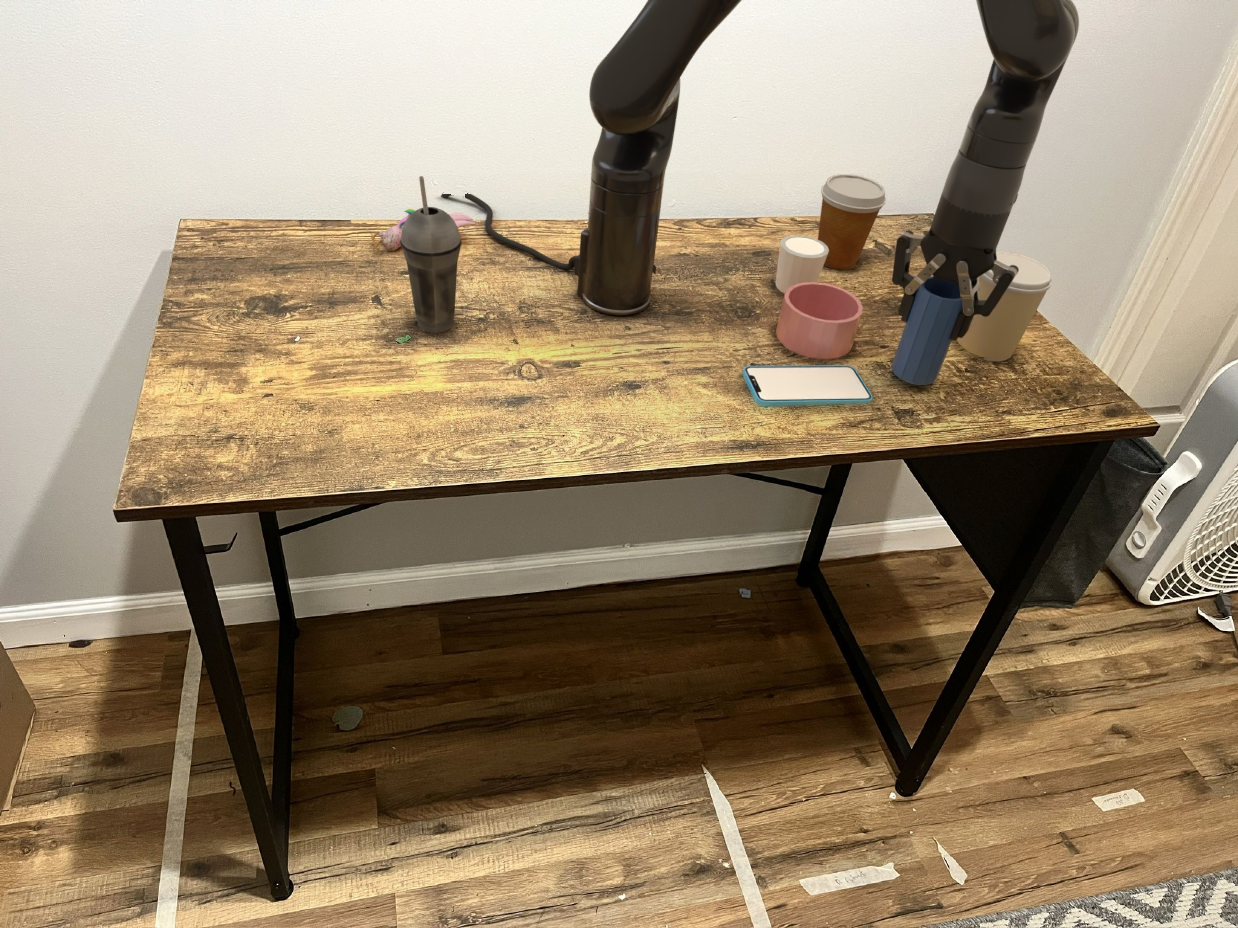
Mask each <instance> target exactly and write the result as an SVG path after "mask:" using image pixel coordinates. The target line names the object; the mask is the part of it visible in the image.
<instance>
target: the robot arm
mask: <svg viewBox="0 0 1238 928" xmlns="http://www.w3.org/2000/svg"><path fill="white" fill-rule="evenodd" d="M742 1H743V0H647V1H646V2H645V4H644V6H643V7H642V9H641V10H640V11H639V12H638V14H637V16H636V17H635V19H634V20H633V21H632V22H631V24H630V25H629V26H628V28H627V29H626V31H624V33H623V34H622V35H621V37H620V38H619V40H617V42H616V43H615V44H614V46H613V47H612V48H611V49H610V50H609V52H608V53H607V54H606V55H605V56H604V57H603V59H601V61H600V62H599V64H598V65H597V66H596V68H595V70H594V72H593V74H592V76H591V79H590V84H589V92H588V93H589V94H588V95H589V96H588V97H589V105H590V110H591V113H592V116H593V117H594V119H595V121H596V122H597V123H598V124H599V126H600V127H601V130H600V134H599V137H598V141H597V144H596V147H595V148H594V149H595V150H594V153H593V155H592V158H591V171H590V185H589V187H590V189H589V205H588V218H587V228H585V229H583V230H582V231H581V232H580V240H579V254H578V255H574V256H571V257H570V258H569V259H568V263H564V262H560V261H557V260H554V259H552V258H551V257H549V256H547V255H545V254H543V253H541V251H538V250H536V249H534V248H532V247H530V246H528V245H526V244H523V243H520V242H518V241H516V240H512V239H510V238H508V237H505V236H504V235H501V234H499V233H498V232H497V231H496V230H495V229H494V228H493V227H492V222H493V218H494V211H493V209H492V207H491V206H490V205H489V204H487V202H485V201H483V200H482V199H481V198H480V197H477V196H476V195H474V194H472V193H470V194H468V193H469V192H468V193H467V194H465V198H464V199H466V200H468V201H470V202H472V203H473V204H476V205H477V206H478V207H480V208H481V209H483V210H484V211H485V213H486V217H485V221H484V227H485V231H486V232H487V234H488V235H489V236H490V237H491V238H493V240H496V241H497V242H499V243H501V244H503V245H505V246H508V247H510V248H513V249H516V250H518V251H521V252H523V253H526V254H528V255H530V256H531V257H533V258H535V259H537V260H539V261H541V262H543V263H545V264H547V265H549V266H551V267H555V268H557V269H560V270H563V271H573V269H574V271H573V275H574V276H576V277H577V287H576V288H577V289H576V295H577V297H580V298H581V299H582V300H583V302H584V303H585V304H586V305H587V306H588V307H589V308H590V309H592V310H594V311H596V312H598V313H601V314H605V315H611V316H631V315H635V314H639V313H641V312H643V311H644V310H646V309H647V308H648V307H649V305H650V302H651V291H652V281H653V275H656V273H657V266H656V265H655V259H656V250H657V242H658V234H659V225H660V218H661V209H662V201H663V193H664V183H665V177H666V171H667V166H668V163H669V161H670V158H671V153H672V150H673V145H674V137H675V130H676V124H677V119H678V118H677V117H678V111H679V104H680V103H679V102H680V95H681V77H682V76H683V74H684V72H685V70H686V69H687V67H688V65H689V64H690V63H691V61H692V59H693V58H694V56H695V55H696V53H697V52H698V50H699V49H700V48H701V46H702V45H703V43H704V42H705V41H706V40H707V39H708V38H709V37H710V35H711V34H712V33H713V32H715V30H716V29H717V28H718V27H719V26H720V25H721V24H722V23H723V22H724V21H725V19H726V18H727V17H728V16H729V15H730V14H731V13H732V12H733V11H734V10H735V9H736V8H737V6H738V5H739V4H740V3H741V2H742ZM975 2H976V6H977V9H978V10H977V11H978V14H979V18H980V21H981V27H982V29H983V32H984V36H985V40H986V43H987V46H988V48H989V51H990V53H991V56H992V58H993V60H992V63H991V66H990V70H989V73H988V76H987V79H986V82H985V85H984V88H983V90H982V92H981V95H980V96H979V98H978V100H977V102H976V103H975V105H974V107H973V109H972V111H971V114H970V115H969V119H968V122H967V125H966V128H965V131H964V134H963V137H962V140H961V143H960V146H959V149H958V151H957V154H956V156H955V158H954V160H953V162H952V164H951V166H950V168H949V171H948V174H947V177H946V180H945V182H944V185H943V188H942V192H941V194H940V198H939V201H938V204H937V207H936V209H935V213H934V216H933V218H932V222H931V225H930V227H929V230H928V231H927V233H926V234H925V235H919V234H915V233H914V232H913V231H912V230H910V229H907V230H905V231H904V232H903V233H902V234H901V235H900V236H899V237H898V238H897V239H896V244H895V250H894V251H895V252H894V261H893V269H892V277H891V282H892V284H894V285H895V286H899V287H900V288H902V290H903V295H902V298H901V301H900V305H899V308H898V311H897V312H898V316H901V317H900V321H901V322H903V323H906V322H907V319H908V316H909V313H910V310H911V307H912V305H913V302H914V299H915V295H916V293H917V290H918V288H919V287H920V285H922V284H923V283H924V282H925V281H926V280H927V279H928V278H929V277H931V276H933V278H936V279H939V280H946V281H948V282H949V283H951V284H953V285H956V286H959V290H960V297H961V298H962V306H963V310H962V311H961V312H960V314H959V316H958V319H957V322H956V324H955V327H954V329H953V332H952V335H951V337H950V339H951V340H952V341H953V342H957V339H958V338H962V337H964V336H965V334H966V333H967V331H968V330H969V327H970V325H971V322H972V319H973V317H974V315H982V316H984V317H987V316H989V315H990V314H991V312H992V311H993V309H994V308H995V307H996V305H997V304H998V302H999V301H1000V299H1001V298H1002V296H1003V295H1004V293H1005V291H1006V290H1007V288H1008V287H1009V285H1010V284H1011V282H1012V281H1013V279H1014V278H1015V276H1016V275H1017V273H1018V271H1019V269H1018V267H1017V266H1015V265H1011V266H1007V265H1005V264H1003V263H1001V262H999V261H997V256H996V252H997V249H998V245H999V242H1000V240H1001V237H1002V235H1003V232H1004V230H1005V227H1006V224H1007V222H1008V219H1009V217H1010V215H1011V212H1012V209H1013V206H1014V205H1015V204H1016V202H1017V200H1018V196H1019V191H1020V190H1021V185H1022V183H1023V180H1024V179H1023V178H1024V174H1025V170H1026V167H1027V164H1028V162H1029V159H1030V156H1031V154H1032V152H1033V149H1034V146H1035V144H1036V141H1037V138H1038V135H1039V133H1040V129H1041V126H1042V122H1043V119H1044V115H1045V112H1046V108H1047V105H1048V103H1049V100H1050V98H1051V96H1052V94H1053V93H1054V89H1055V88H1056V85H1057V83H1058V80H1059V79H1060V76H1061V74H1062V71H1063V69H1064V67H1065V65H1066V63H1067V60H1068V58H1069V55H1070V54H1071V51H1072V48H1073V47H1074V44H1075V42H1076V39H1077V37H1078V32H1079V28H1080V18H1079V17H1080V16H1079V11H1078V9H1077V6H1076V5H1075V3H1074V2H1073V0H975ZM449 197H453V195H451V194H443V193H441V195H440V198H443V199H448V198H449ZM918 247H920V249H921V253H922V255H923V258H924V261H925V264H926V265H925V266H924V267H923V268H922V269H921V270H920V271H919V272H918V273H917V274H916V275H915V276H913V275H912V274H911V273H910V267H911V259H912V255H913V254H914V253H915V252H916V250H917V249H918ZM989 270H992V271H993V274H994V275H993V278H992V280H993V282H994V283H995V284H996V286H995V288H994V289H993V291H992V292H991V294H990V295H989V297H988V298H987V300H979V276H981V275H983V274H984V273H986V272H988V271H989Z"/></svg>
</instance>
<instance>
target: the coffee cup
mask: <svg viewBox="0 0 1238 928" xmlns="http://www.w3.org/2000/svg"><path fill="white" fill-rule="evenodd" d="M996 256H997V261H999V262H1001V263H1003V264H1005V265H1007V266H1011V265H1015V266H1017V267H1018V269H1019V271H1018V273H1017V275H1016V276H1015V278H1014V279H1013V281H1012V282H1011V284H1010V285H1009V287H1008V288H1007V290H1006V291H1005V293H1004V295H1003V296H1002V298H1001V299H1000V301H999V302H998V304H997V305H996V307H995V308H994V309H993V311H992V312H991V314H990V315H989V316H987V317H984V316H982V315H974V317H973V319H972V322H971V325H970V327H969V330H968V331H967V333H966V334H965V336H964V337H962V338H958V339H957V340H956V342H957V343H958V344H959V346H960V347H962V348H963V349H964V350H966V351H967V352H969V353H971V354H973V355H974V356H977V357H981V358H982V360H983V361H985V362H986V361H987V362H1004V361H1007V360H1009V359H1010V358H1011V357H1012V356H1013V354H1014V352H1015V350H1016V349H1017V348H1018V345H1019V344H1020V342H1021V340H1022V338H1023V336H1024V335H1025V332H1026V331H1027V329H1028V327H1029V325H1030V323H1031V321H1032V320H1033V318H1034V316H1035V315H1036V312H1037V310H1038V309H1039V307H1040V305H1041V302H1042V301H1043V299H1044V297H1045V295H1046V293H1047V291H1048V290H1049V289H1050V288H1051V286H1052V284H1053V279H1052V277H1053V276H1052V273H1051V271H1050V269H1048V268H1047V266H1046V265H1044V264H1043V263H1042V262H1040V261H1038V260H1036V259H1034V258H1032V257H1029V256H1027V255H1023V254H1020V253H1016V252H1011V251H996ZM993 275H994V274H993V271H992V270H989V271H988V272H986V273H984V274H983V275H981V276H979V300H987V298H988V297H989V295H990V294H991V292H992V291H993V289H994V288H995V286H996V284H995V283H994V282H993V280H992V278H993Z"/></svg>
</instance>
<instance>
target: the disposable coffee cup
mask: <svg viewBox="0 0 1238 928" xmlns="http://www.w3.org/2000/svg"><path fill="white" fill-rule="evenodd" d="M820 192H821V197H822V199H821V207H820V216H819V224H818V225H819V226H818V233H817V240H819V241H822V242H823V243H824V244H825V245H827V247H828V249H829V252H828V255H827V257H826V260H825V263H824V266H823V267H827V268H830V269H833V270H839V271H840V270H842V271H845V270H846V271H847V270H851V269H853V268H855V267H856V265H857V264H858V261H859V258H860V256H861V255H862V251H863V249H864V248H865V245H866V242H867V241H868V237H869V235H870V233H871V231H872V229H873V226H874V224H875V222H876V220H877V217H878V215H879V213H880V210H881V209H882V208H883V206H885V205H886V202H887V197H886V189H885V188H884V186H883V185H882V184H881V183H879V182H878V181H876V180H874V179H871V178H869V177H865V176H862V175H857V174H848V173H840V174H839V173H838V174H833V175H831V176H829V177H828V178H827V179H826V181H825V183H824V184H823V185H822V186H821V188H820Z"/></svg>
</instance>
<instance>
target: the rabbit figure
mask: <svg viewBox="0 0 1238 928" xmlns="http://www.w3.org/2000/svg"><path fill="white" fill-rule="evenodd" d="M414 211H415V210H414V209H412V208H408V209H405V210H404V213H406V214H408V215H406V216H403V218H401V219H400V220H399V222H398V223H397V225H393V226H391V227H389V228H388V229H386V230H384V231H381V230H377V231H376V232H375V233H374V234H373V233H372V232H370V235H371V236H370V238H371V241H372V242H373V246H374V250H376V253H378V252H379V248H378V247H379V245H380V244H383V246H384V248H385V249H386V250H388V251H392V252H393V251H396V250H398V249H399V248H400V247H402V246H401V243H400V241H401V234H402V229H403V226H404V223H405V221H406V219H407V218H408V217H409V216H410V215H411V214H412V213H413V212H414ZM447 214H448V215H450V216H451V217H452V218H453V220H454V221H455V223H456V225H457V228H458V229H459V228H462V227H464V226H475V225H476V222H475V221H474V218H473V217H470V216H469V215H467V214H464V213H461V212H452V213H447ZM376 237H380V238H379V240H378V241H377V242H376V240H375V238H376Z"/></svg>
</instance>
